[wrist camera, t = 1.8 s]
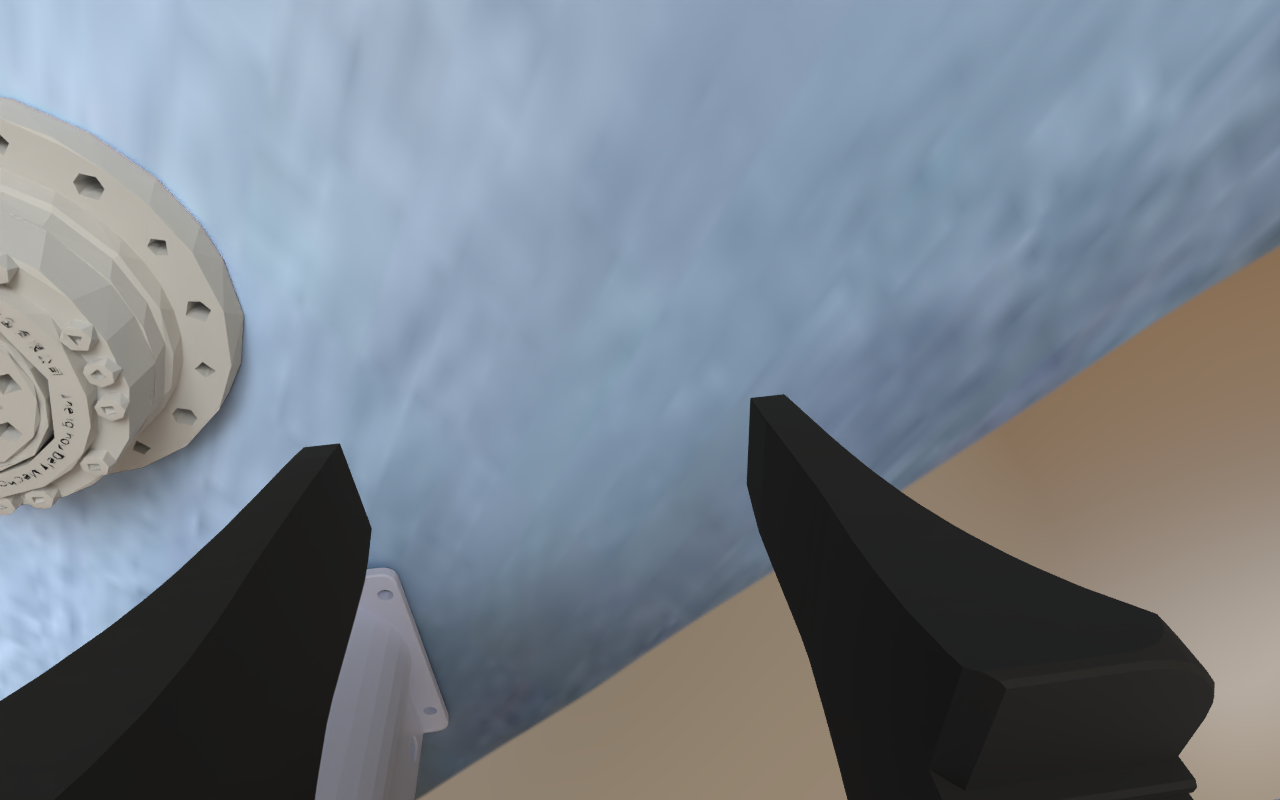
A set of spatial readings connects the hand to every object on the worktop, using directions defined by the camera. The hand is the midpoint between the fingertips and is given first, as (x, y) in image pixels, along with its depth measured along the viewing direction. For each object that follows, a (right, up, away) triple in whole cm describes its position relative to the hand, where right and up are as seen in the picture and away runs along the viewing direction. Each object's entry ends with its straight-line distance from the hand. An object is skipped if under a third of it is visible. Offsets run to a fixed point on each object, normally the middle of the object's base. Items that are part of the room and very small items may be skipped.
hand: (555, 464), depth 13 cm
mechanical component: (-14, +4, +6) cm, 16 cm away
